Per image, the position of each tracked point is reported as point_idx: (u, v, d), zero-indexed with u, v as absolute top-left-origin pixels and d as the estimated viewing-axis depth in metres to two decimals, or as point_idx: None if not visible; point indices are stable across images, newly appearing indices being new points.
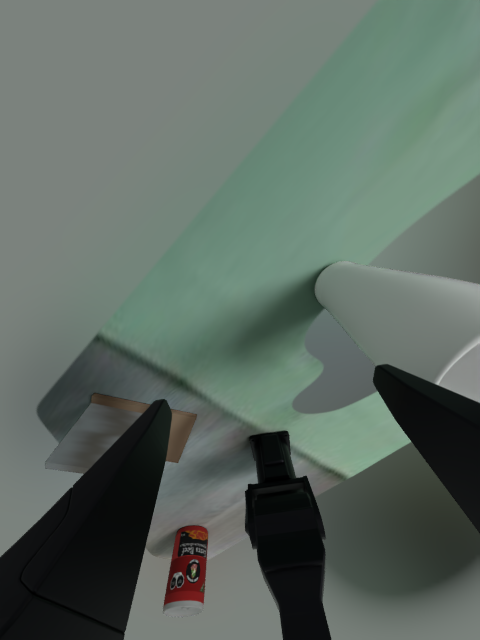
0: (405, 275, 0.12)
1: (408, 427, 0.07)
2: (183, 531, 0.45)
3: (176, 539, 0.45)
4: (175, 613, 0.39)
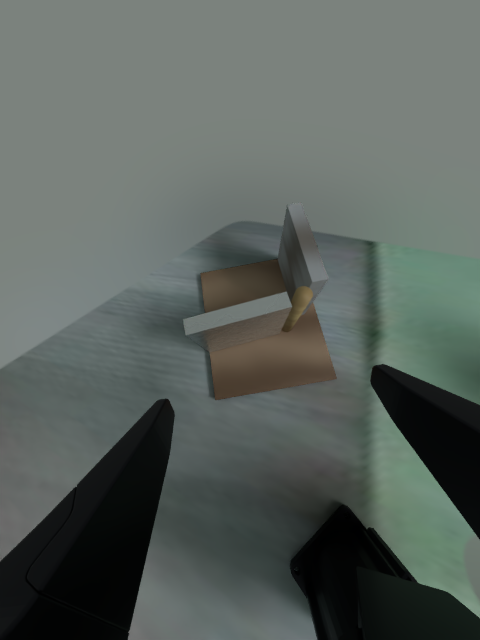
0: None
1: (405, 427, 0.07)
2: None
3: None
4: None
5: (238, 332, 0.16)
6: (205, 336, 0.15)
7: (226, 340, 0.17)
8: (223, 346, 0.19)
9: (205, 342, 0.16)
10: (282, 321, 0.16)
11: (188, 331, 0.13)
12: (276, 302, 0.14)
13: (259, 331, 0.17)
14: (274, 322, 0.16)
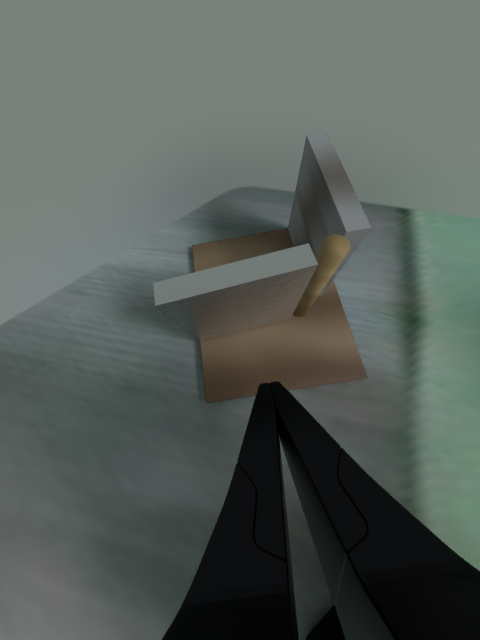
0: None
1: (283, 445, 0.07)
2: None
3: None
4: None
5: (236, 309, 0.11)
6: (187, 312, 0.10)
7: (220, 322, 0.13)
8: (217, 333, 0.15)
9: (190, 323, 0.12)
10: (298, 296, 0.12)
11: (159, 300, 0.09)
12: (293, 258, 0.09)
13: (265, 311, 0.13)
14: (287, 296, 0.11)
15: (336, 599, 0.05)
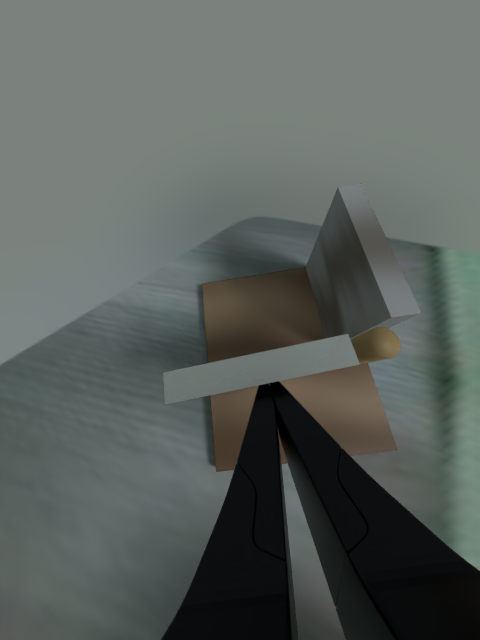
0: None
1: (283, 445, 0.07)
2: None
3: None
4: None
5: None
6: None
7: None
8: None
9: None
10: None
11: (170, 397, 0.07)
12: (330, 353, 0.08)
13: None
14: None
15: (336, 599, 0.05)
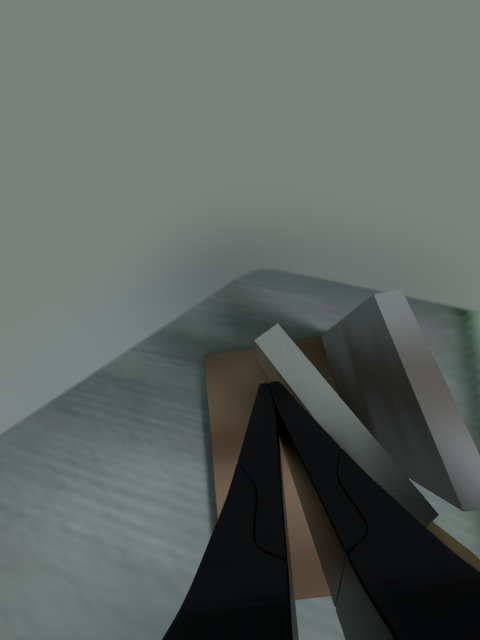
0: None
1: (283, 445, 0.07)
2: None
3: None
4: None
5: None
6: (267, 363, 0.09)
7: None
8: (270, 379, 0.13)
9: (262, 361, 0.11)
10: None
11: (262, 341, 0.08)
12: (398, 496, 0.06)
13: None
14: None
15: (336, 599, 0.05)
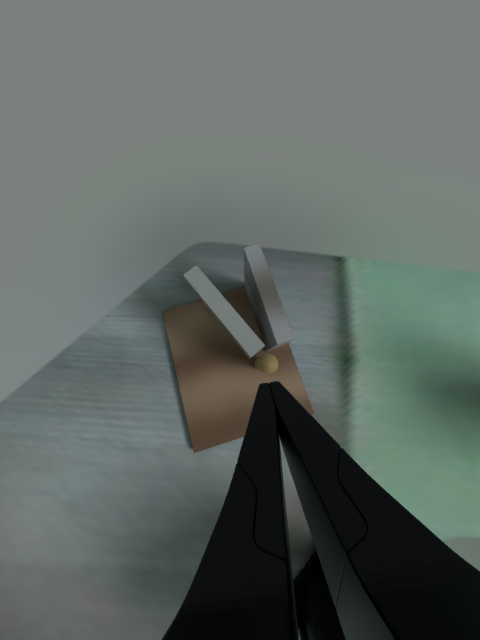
0: None
1: (283, 445, 0.07)
2: None
3: None
4: None
5: None
6: (196, 292, 0.15)
7: (212, 313, 0.18)
8: (212, 314, 0.20)
9: (198, 295, 0.17)
10: (248, 356, 0.16)
11: (187, 275, 0.14)
12: (248, 340, 0.13)
13: (233, 339, 0.17)
14: (242, 348, 0.15)
15: (336, 599, 0.05)
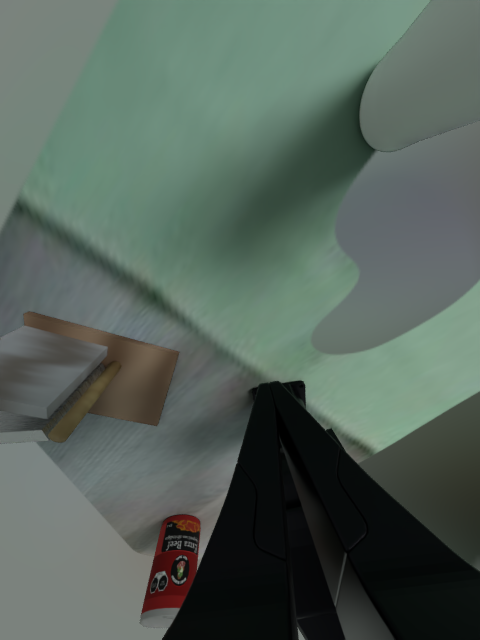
0: None
1: (283, 445, 0.07)
2: (170, 521, 0.37)
3: (161, 531, 0.37)
4: (156, 623, 0.31)
5: None
6: None
7: None
8: None
9: None
10: None
11: None
12: (32, 436, 0.14)
13: None
14: None
15: (336, 599, 0.05)
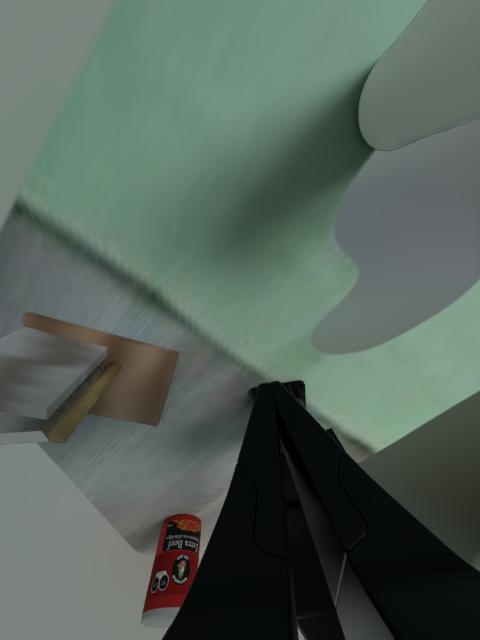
0: None
1: (283, 445, 0.07)
2: (170, 521, 0.37)
3: (162, 531, 0.37)
4: (157, 622, 0.31)
5: None
6: None
7: None
8: None
9: None
10: None
11: None
12: (32, 437, 0.14)
13: None
14: None
15: (336, 599, 0.05)
